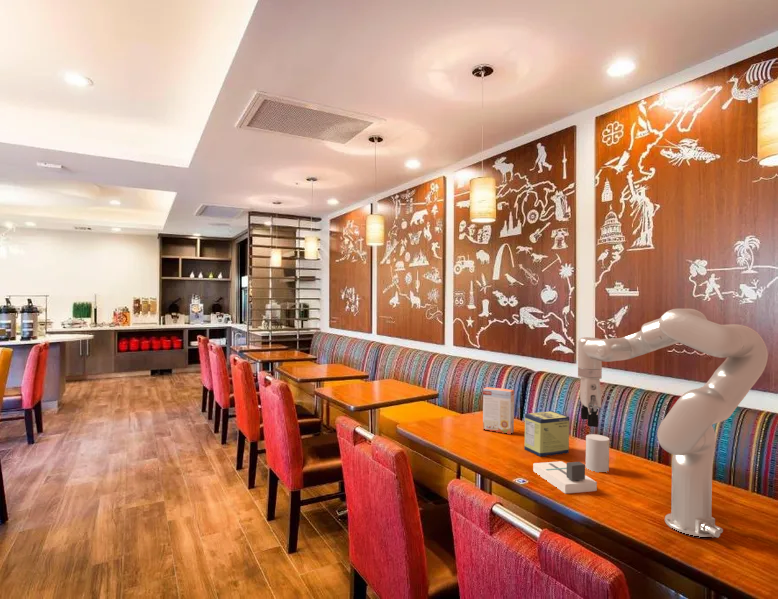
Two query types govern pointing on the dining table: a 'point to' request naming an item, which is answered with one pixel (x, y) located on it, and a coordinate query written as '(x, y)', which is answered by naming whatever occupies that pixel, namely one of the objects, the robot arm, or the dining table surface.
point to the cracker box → (498, 410)
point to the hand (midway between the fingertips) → (589, 422)
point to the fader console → (563, 477)
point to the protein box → (546, 433)
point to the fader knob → (575, 471)
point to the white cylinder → (597, 453)
